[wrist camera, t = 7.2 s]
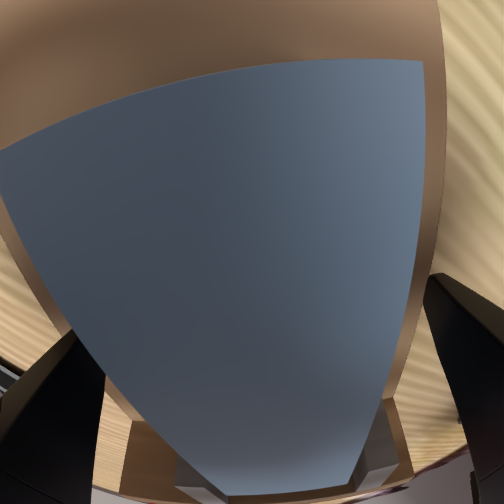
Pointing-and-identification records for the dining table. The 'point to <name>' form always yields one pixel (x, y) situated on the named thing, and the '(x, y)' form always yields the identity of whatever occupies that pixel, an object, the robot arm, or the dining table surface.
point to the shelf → (192, 65)
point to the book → (237, 255)
